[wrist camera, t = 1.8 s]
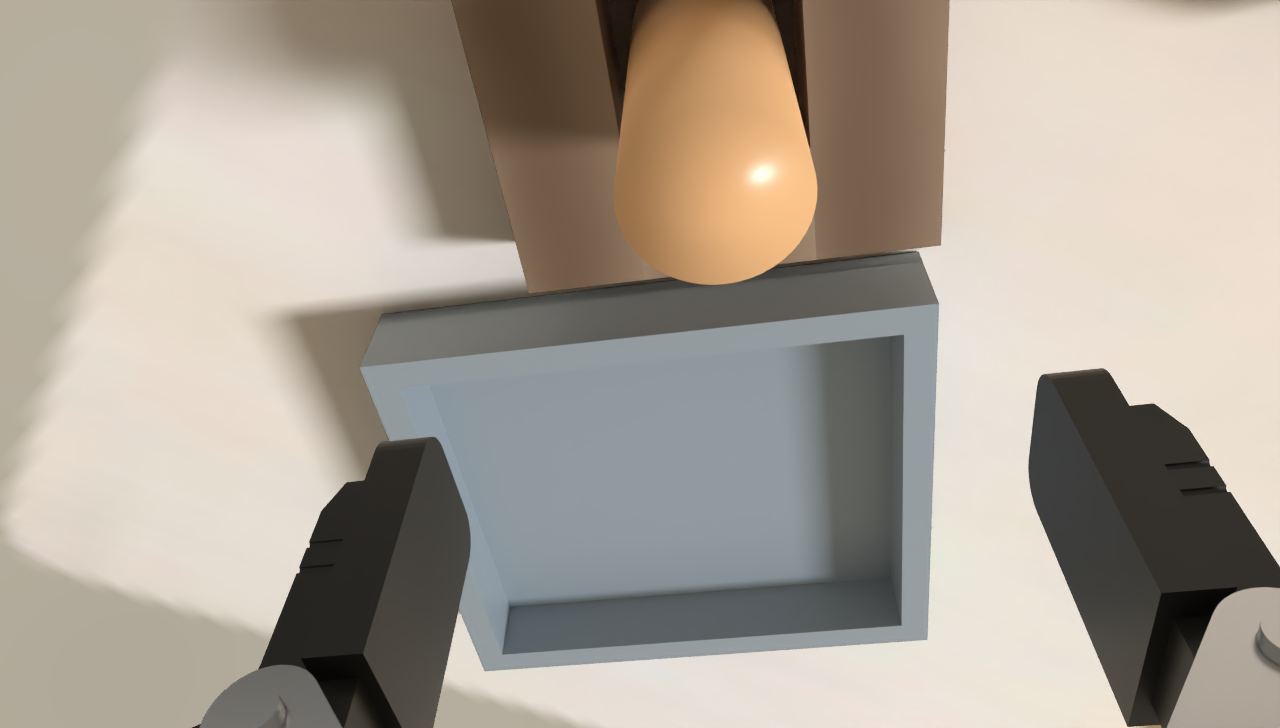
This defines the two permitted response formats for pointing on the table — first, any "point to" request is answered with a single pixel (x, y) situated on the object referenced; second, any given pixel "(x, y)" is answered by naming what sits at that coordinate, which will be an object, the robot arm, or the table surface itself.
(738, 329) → the slate tray
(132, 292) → the table surface
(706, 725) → the table surface
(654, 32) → the orange plug
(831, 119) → the wooden square hole block
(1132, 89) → the table surface
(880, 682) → the table surface
